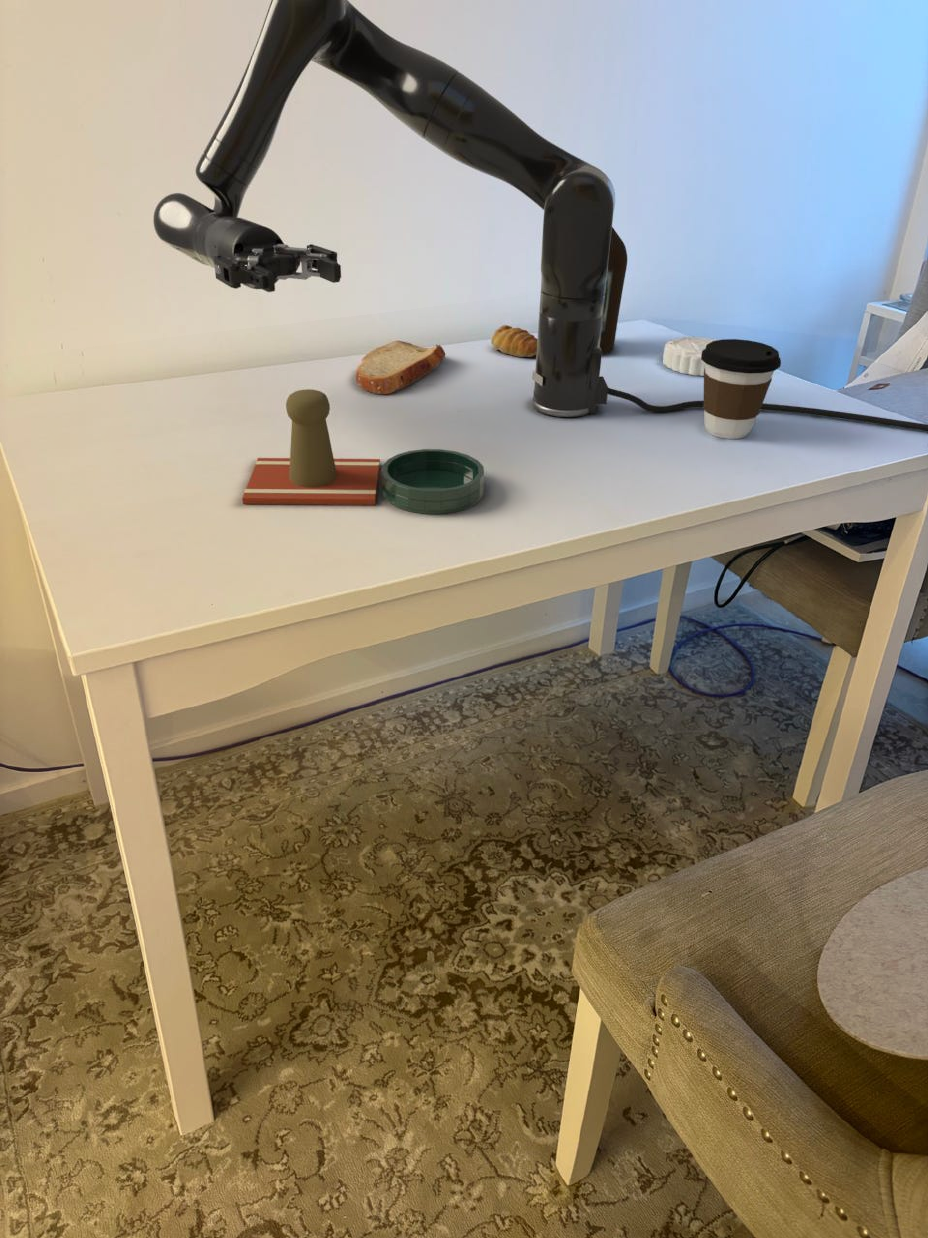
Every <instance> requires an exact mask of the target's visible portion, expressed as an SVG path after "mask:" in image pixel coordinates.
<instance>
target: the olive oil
mask: <svg viewBox="0 0 928 1238" xmlns="http://www.w3.org/2000/svg"><path fill="white" fill-rule="evenodd" d="M627 266H628V251H627V248H626V244H625V243H624V241H623V239H622V238H621V236H620V235H619V234H618V232H617V231H616V230H615V229H614V227H613V226H612V231H611V240H610V249H609V258H608V272H607V282H606V291H605V299H604V309H603V318H602V328H601V338H600V348H601V350H602V356H603V355H608V354H610V353H612V352H613V351H614V349H615V342H616V337H617V335H616V334H617V328H618V322H619V315H620V308H621V302H622V297H623V292H624V291H623V290H624V285H625V279H626V274H627V273H626V272H627V268H628V267H627Z"/></svg>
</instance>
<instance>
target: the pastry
mask: <svg viewBox="0 0 928 1238" xmlns="http://www.w3.org/2000/svg"><path fill="white" fill-rule="evenodd" d="M537 339H538V338H537V337H535V335H534V334H531V333H529V331H528V330H527V329H522V328H520V327H513V326H511V325H508V324H504V325H501V326H500V327H499V328H498V329H496V330H495V331H494V333H493V335H492V337H491V343H490V344H491V345H492V346H493V348H494V349H495V350H496V351H498V350H499V351H500V353H503V354H508V355H510V356H513V357H518V358H521V357H522V358H524V357H527V358H531V357H534V356H536V354H537Z"/></svg>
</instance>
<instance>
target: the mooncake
mask: <svg viewBox="0 0 928 1238" xmlns="http://www.w3.org/2000/svg"><path fill="white" fill-rule="evenodd" d="M717 340H718V339H716V338H704V337H699V336H683V337H681V338H675V339H672V340H669V341H667V343H665V344H664V348H663V356H662V365H664V366H665V367H666V369H670V370H672V371H673V372H677V373H680V374H683V375H689V376H695V377H696V376H699V377H704V369H705V362H704V361H702V360H701V354H702V351H703V350H704V349H706V345H707V344H709V343H711V342H712V341H717Z"/></svg>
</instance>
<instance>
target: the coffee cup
mask: <svg viewBox="0 0 928 1238" xmlns="http://www.w3.org/2000/svg"><path fill="white" fill-rule="evenodd" d="M716 340H717V341H712V342H711V343H709V344H707V345H706V349H704V350H703V351H702V354H701V360H702V361H704V362H705V369H704V376H703V400H702V401H703V407H702V409H703V410H704V414H703V415H704V418H703V421H704V423H703V426H704V429H705V431H706V432H707V433H708V434H709V435H712V436H713V437H716V438H720V439H727V440H739V439H743V438H745V437H747V436H748V434H750V432H751V431H752V428H753V426H754V423H755V421H756V418H757V416H759V414H760V411H761V410H760V409H761V407H762V404H763V403H764V401H765V399H766V396H767V393H768V391H769V388H770V386H771V383H772V379H773V378H772V377H773V375H774V372H775V371H776V370H778V369H779V368H781V364H782V360H781V359H782V358H781V357H780V352H779V351H778V349H776V348H774V347H773V346H771V345H769V344H766V343H763V342H760V341H754V340H749V339H739V338H728V339H727V338H726V339H725V338H724V339H723V338H722V339H716Z"/></svg>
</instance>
